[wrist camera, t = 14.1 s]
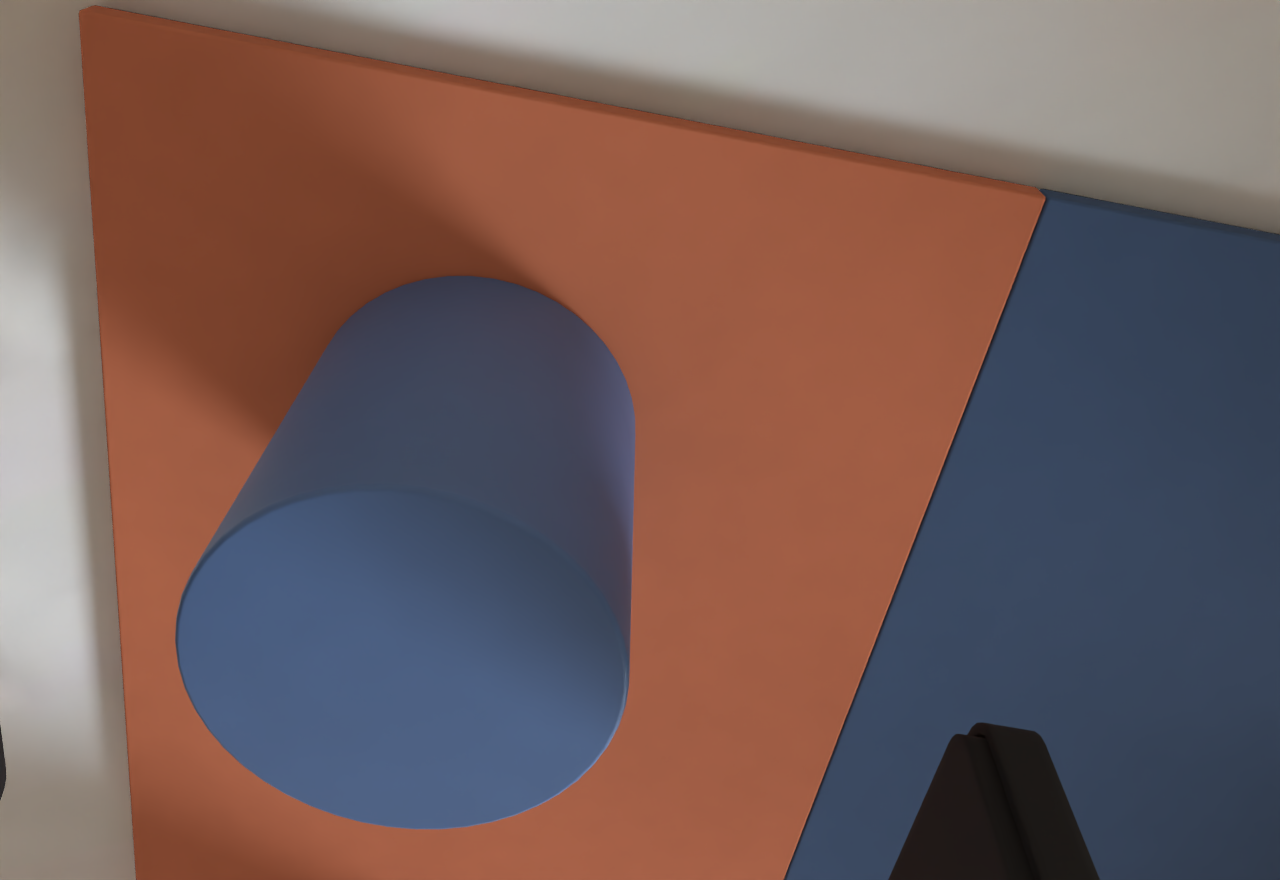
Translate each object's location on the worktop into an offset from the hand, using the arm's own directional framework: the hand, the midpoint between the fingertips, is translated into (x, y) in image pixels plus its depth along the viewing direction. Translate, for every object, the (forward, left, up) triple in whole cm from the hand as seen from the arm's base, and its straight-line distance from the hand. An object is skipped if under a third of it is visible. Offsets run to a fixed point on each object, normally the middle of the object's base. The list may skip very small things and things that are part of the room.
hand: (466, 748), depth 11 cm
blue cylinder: (-1, 0, -5) cm, 5 cm away
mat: (+6, -7, -6) cm, 10 cm away
